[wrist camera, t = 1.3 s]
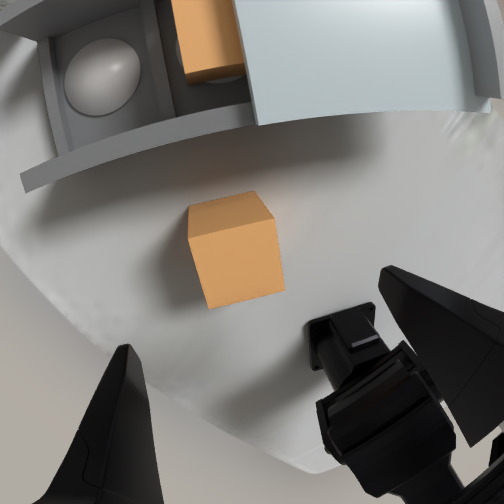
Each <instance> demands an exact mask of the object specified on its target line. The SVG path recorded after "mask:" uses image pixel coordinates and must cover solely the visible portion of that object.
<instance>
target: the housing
mask: <svg viewBox="0 0 504 504" xmlns="http://www.w3.org/2000/svg"><path fill="white" fill-rule="evenodd" d="M0 30H3V31H7V32H10V33H13V34H16V35H19V36H22V37H25V38H28V39H31V40H33V41H36V42H37V44H38V53H39V62H40V69H41V76H42V83H43V89H44V94H45V100H46V105H47V110H48V115H49V120H50V124H51V128H52V133H53V137H54V141H55V145H56V149H57V153H58V157H56V158H54V159H51V160H49V161H47V162H44V163H42V164H40V165H38V166H35V167H33V168H31V169H29V170H27V171H25V172H22V173H20V177H21V180H22V184H23V187H24V190H25V193H28V192H30V191H32V190H35V189H37V188H39V187H42V186H44V185H46V184H49V183H51V182H54V181H56V180H59V179H61V178H64V177H66V176H69V175H72V174H74V173H77V172H80V171H82V170H85V169H88V168H91V167H94V166H97V165H100V164H102V163H105V162H108V161H111V160H115V159H118V158H121V157H124V156H127V155H130V154H134V153H137V152H140V151H144V150H147V149H151V148H154V147H158V146H162V145H165V144H169V143H173V142H177V141H181V140H185V139H189V138H193V137H197V136H202V135H206V134H210V133H215V132H220V131H224V130H229V129H234V128H240V127H245V126H250V125H256V122H255V117H254V111H253V106H252V100H251V95H250V90H249V84H248V79H247V74H246V75H239V76H233V77H227V78H222V79H217V80H211V81H206V82H202V83H197V84H192V85H188V84H187V80H186V76H185V71H184V66H183V61H182V56H181V51H180V45H179V40H178V35H177V29H176V24H175V18H174V13H173V7H172V2H171V0H17V1H15V2H13V3H12V4H10V5H9V6H7V7H5V8H4V9H2V10H1V11H0Z"/></svg>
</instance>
